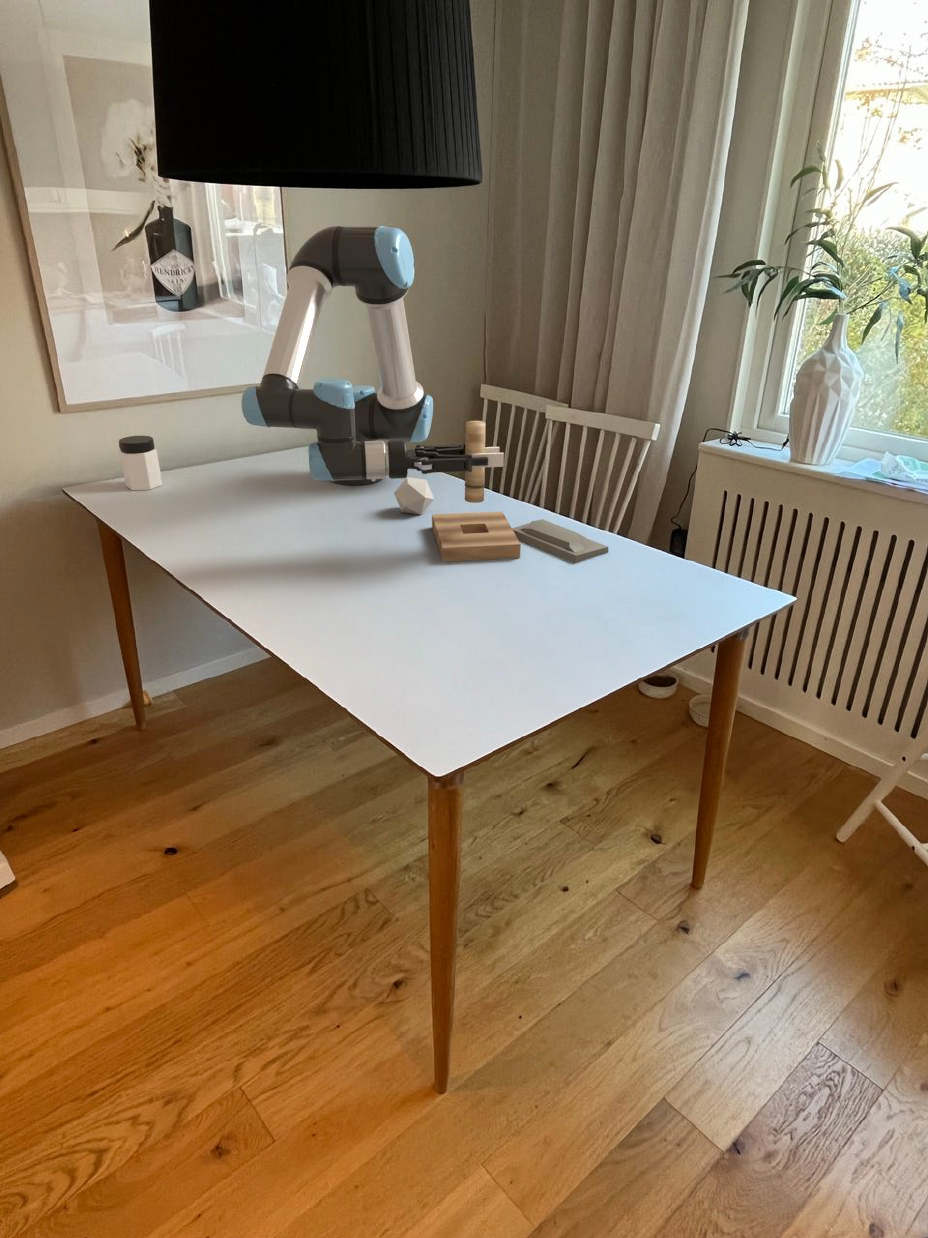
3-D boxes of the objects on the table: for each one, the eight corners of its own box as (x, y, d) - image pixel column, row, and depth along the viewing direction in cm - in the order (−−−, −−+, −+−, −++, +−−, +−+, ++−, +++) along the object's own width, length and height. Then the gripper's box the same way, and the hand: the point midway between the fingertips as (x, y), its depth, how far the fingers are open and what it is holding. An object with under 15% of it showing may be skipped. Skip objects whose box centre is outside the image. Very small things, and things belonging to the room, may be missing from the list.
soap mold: (574, 566, 161) (575, 550, 159) (508, 538, 175) (508, 523, 173) (608, 554, 167) (610, 538, 165) (541, 528, 181) (542, 513, 179)
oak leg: (463, 497, 168) (464, 420, 161) (482, 496, 169) (484, 420, 161) (466, 503, 164) (467, 425, 157) (485, 502, 165) (487, 425, 158)
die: (439, 511, 190) (425, 474, 191) (435, 505, 181) (420, 466, 182) (407, 524, 191) (393, 487, 191) (402, 518, 182) (387, 479, 183)
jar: (143, 479, 209) (134, 433, 203) (168, 482, 206) (161, 436, 201) (119, 488, 201) (109, 441, 196) (145, 492, 199) (136, 445, 193)
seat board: (432, 527, 179) (431, 514, 177) (501, 524, 181) (502, 511, 180) (442, 561, 161) (442, 547, 160) (520, 557, 163) (520, 544, 162)
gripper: (385, 466, 169) (493, 463, 172) (390, 490, 154) (508, 486, 157) (384, 431, 166) (494, 428, 169) (388, 452, 151) (509, 449, 154)
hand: (500, 456), depth 163 cm, fingers closed on oak leg, 4 cm apart
